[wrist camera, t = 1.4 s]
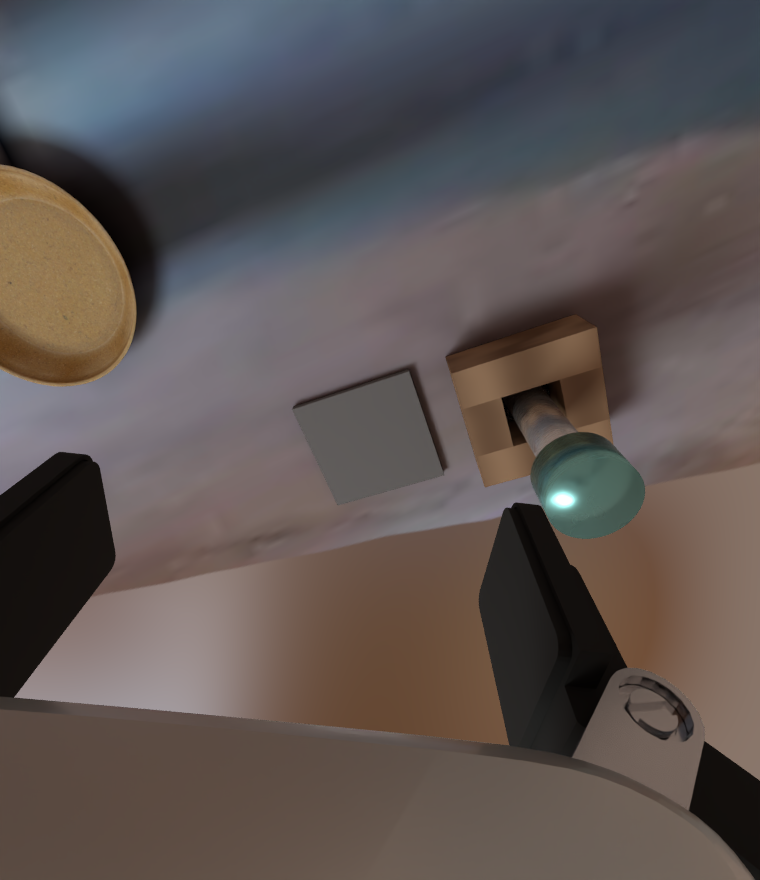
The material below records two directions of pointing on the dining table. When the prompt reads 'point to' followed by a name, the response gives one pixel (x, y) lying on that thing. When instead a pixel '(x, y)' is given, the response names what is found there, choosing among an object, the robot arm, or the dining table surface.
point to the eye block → (521, 368)
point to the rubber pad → (370, 438)
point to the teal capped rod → (575, 470)
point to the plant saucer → (59, 286)
